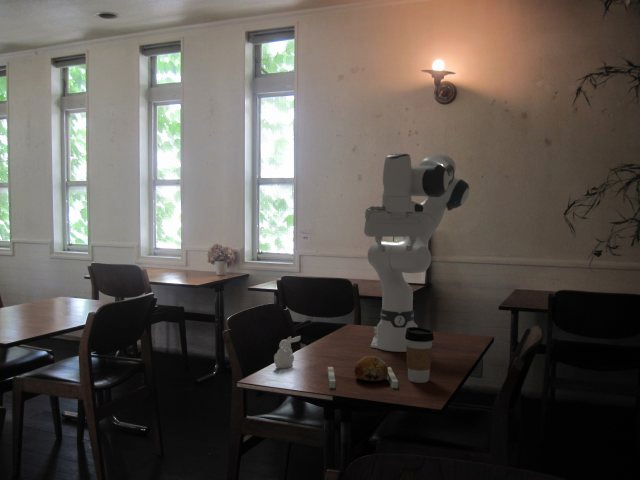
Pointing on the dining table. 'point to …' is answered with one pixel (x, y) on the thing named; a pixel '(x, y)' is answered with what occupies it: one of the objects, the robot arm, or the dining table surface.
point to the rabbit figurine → (285, 353)
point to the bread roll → (371, 369)
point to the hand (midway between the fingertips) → (395, 251)
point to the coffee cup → (418, 353)
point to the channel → (390, 377)
